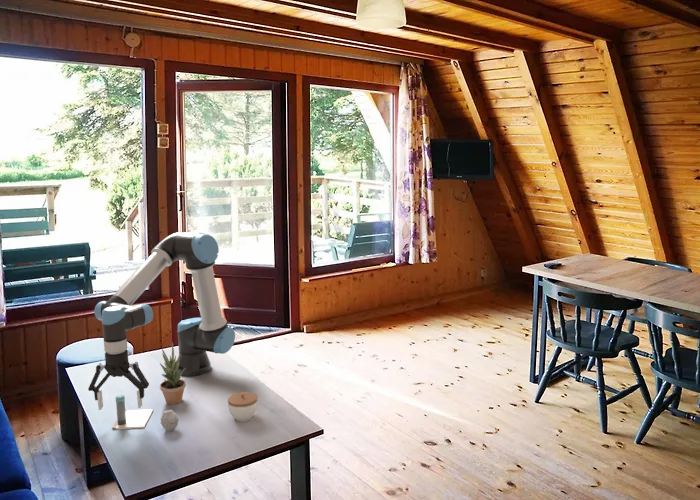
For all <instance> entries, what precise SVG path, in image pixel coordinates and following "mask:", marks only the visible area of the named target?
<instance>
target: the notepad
mask: <svg viewBox="0 0 700 500" xmlns="http://www.w3.org/2000/svg"><path fill="white" fill-rule="evenodd" d="M153 412H154V409H153V408H151V409H149V408H147V409H146V408H145V409H130V410H129V409H125V414H126V424H124V425H118V420H116V421H115V423H114V424H113V426H112V427H111V429H114V430H130V429H133V428H134V429H145V427H146V426H147V424H148V422H149V420H150V418H151V416H152V414H153Z"/></svg>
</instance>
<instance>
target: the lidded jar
mask: <svg viewBox="0 0 700 500" xmlns="http://www.w3.org/2000/svg"><path fill="white" fill-rule="evenodd" d="M227 404H228V411H229V413H230V415H231V417H232V418H234V419H236V420H235V421H237V422H248V421H250V420H251V419H252V418H253V417H254V415H256V412H257V409H258V395H257V394H256V393H254V392H249V391H248V392H247V391H244V392H243V391H242V392H235V393H233V394H232V395H230V396H228V398H227ZM249 419H250V420H249ZM247 420H248V421H247Z"/></svg>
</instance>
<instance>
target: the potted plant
mask: <svg viewBox="0 0 700 500" xmlns="http://www.w3.org/2000/svg"><path fill="white" fill-rule="evenodd" d="M161 351H162V353H161V354H162V358H163V360H164V362H163V363H164V365H163V364H162V363H159V365H160V367H161V369H162V370H163V372H164V373H162V374H161V376H162V377H164V378H165V379H164V380H163V381H162V382H161V383H160V384H159V387H160V388H159V389H160V391H161V392H162V395H163V397H164V400H165V403H166V404H169V405H175V404H179V403H181V402H182V401H183V396H184V391H185V389H186V381H185V380H184V379H181V377H182V376H183V375H182V373H183V371H184V370H185V369H186V368H185V369H184V370H183V371H182V372H180V370H179V371H178V372H177V370H178V367H179V362H178V361H179V357H178V356H177V355H175V348H174V343H173V341H172V342H171V355H169V358H168V356H167V354H166V352H165V350H164V349H163V348H161ZM179 372H180V373H179Z"/></svg>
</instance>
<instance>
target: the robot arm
mask: <svg viewBox="0 0 700 500" xmlns="http://www.w3.org/2000/svg"><path fill="white" fill-rule="evenodd" d="M219 250H220V249H219V245H218V241H217V240H216V239H215V237H213V236H212V235H210V234H208V233H202V232H187V231H186V232H185V231H177V232H174V233H172V234H170V235H168V236H166V237H164V238H163V239H162V240H160V241H159V243H157V244H156V245H155V246H154V247H152V249H151V252H150V253H151V254H150V255H149V256H148V257H147V258H146V260H145V261H144V262H143V263H141V265H140V266H139V267H138V268H137V269H136V270H135V271H134V272H133V273H132V275H130V277H129V278H127V279H126V281H125V282H124V283H123V284H122V285H121V286H120V288H118V290H116V292H115V293H114V294H113V295H112V296H111V297H109V299H108V300H102V301H101V300H100V301H99V302H98V303H97V304H96V305H95V307H94V310H93V313H94V316H95V318H96V319H97V320H98V321H101V325H102V327H101V328H102V337H103V347H104V348H103V349H104V350H103V351H104V361H105V362H104V363H105V364H102V363H101V362H99V363H98V364H97V365H96V367H95V374H94V375H93V377H92V380H91V382H90V383H89V386H88V389H87V390H88V391H89V392H90V391H92V392H93V393H94V400H95V401H97V407H98V410H99V411H101V410H102V409H103V407H104V402H103V399H104V398H103V391H102V389H101V387H102V386H103V385H104V384H105V383H106V382H107V380H108V379H109V378H110V377H112V378H116V377H121V378H122V377H124V378H126V379H127V380H128V381H129V382H131V383H132V384H133V385H134V386H135V388H137V390H136V397H137V398H136V399H137V409H141V408H142V406H143V399H144V397H145V390H146V389H147V388H148V387H149V385H150V383H149V382H148V380H147V378H146V377H145V374H143V371H142V370H141V369H140V366H139V365H140V364H139V363H138V361H135V362H132V363H130V362H129V352H128V351H129V350H128V340H127V339H128V338H127V337H128V336H127V332H128V331H130V330H134V329H136V328H140V327H143V326H145V325H147V324H149V323H151V322H153V318H154V311H153V309H152V306H150V305H149V304H148V303H141V304H140V303H139V304H137V305H133V304H134V303H135V302H136V301H137V300H138V298H139V297H140V296H141V295H143V293H144V292H145V291H146V290H147V288H148V287H149V286H150V285H151V284H152V283H153V282H154V281H155V279H157V277H158V276H159V275H160V274H161V273H162V272H163V271H164V270H165V268H166V267H171V265H173V263H175V262H176V261H183V262H185V267H186V269H187V270H189V271H190V272H191V276H192V277H191V278H192V280H193V287H194V290H195V296H196V300H197V304H198V309H199V314H200V317H192V318H187V319H184V320H181V321H180V322H179V323H178V324H177V341H178V342H177V343H178V356H177V358H178V357H179V361H178V362H179V367H178V370H177V372H178V371H179V370H180V372H182V371H183V370H184V369H185V368H186V369H185V370H184V371H183V373H182V375H181V376H183V377H184V376H188V377H192V376H193V377H194V376H199V375H204V374H206V373H208V372H209V371H210V370H211V367H212V366H211V365H212V364H211V361H210V358H209V356H208V354H207V353H208V352H210V353H214V354H227V353H228V352H230V350H231V349H232V347H233V346H234V343H235V341H236V332H235V330H234V328H232V327H230V326H228V321H227V319H226V318H225V317H223V314H222V310H221V305H220V304H221V303H220V298H219V295H218V289H217V285H216V279H215V274H214V269H213V267H214V266H215V264H216V260H217V259H218V256H219ZM130 369H131V370H133V372H134V373H135V375H134V374H133V373H132V372H131V371H130ZM103 370H105V371H106V372H107V373H106V374H105V376H104V377H103V378H102V379H101V380H100V382H99V383H98V384H97V385H96V383H97V381H98V379H99V377H100V375H101V373H102V371H103ZM180 372H179V373H180ZM95 385H96V386H95Z"/></svg>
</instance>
